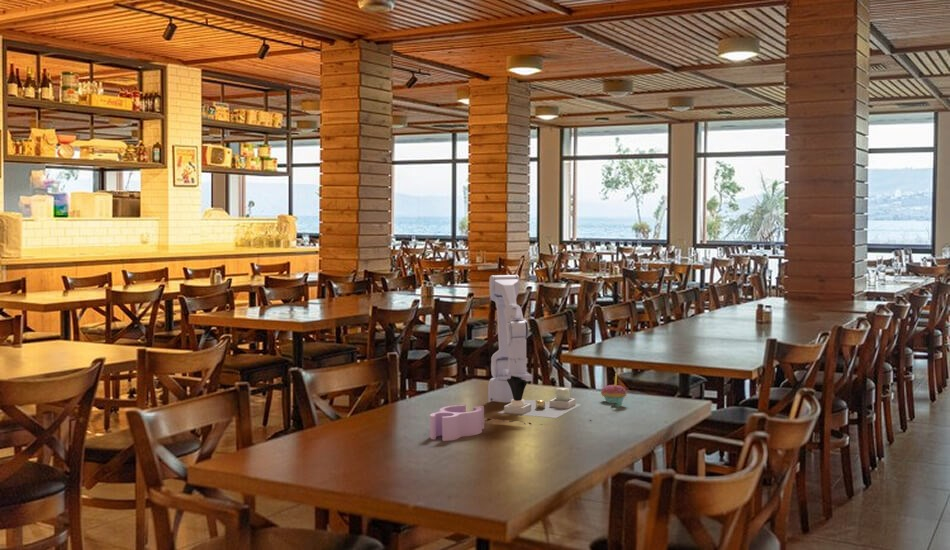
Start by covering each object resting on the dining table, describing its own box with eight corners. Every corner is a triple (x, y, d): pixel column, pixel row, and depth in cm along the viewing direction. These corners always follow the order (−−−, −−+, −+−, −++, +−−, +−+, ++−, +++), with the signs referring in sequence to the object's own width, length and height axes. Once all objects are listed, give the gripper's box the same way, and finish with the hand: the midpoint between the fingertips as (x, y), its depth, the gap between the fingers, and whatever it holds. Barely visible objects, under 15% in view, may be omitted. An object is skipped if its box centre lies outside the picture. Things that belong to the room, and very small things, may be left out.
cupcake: (631, 407, 330) (631, 371, 330) (608, 409, 327) (608, 373, 326) (618, 402, 338) (618, 367, 338) (596, 404, 335) (596, 369, 334)
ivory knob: (508, 411, 316) (508, 400, 316) (514, 409, 320) (514, 398, 320) (521, 413, 314) (521, 401, 314) (526, 410, 318) (526, 399, 318)
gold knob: (534, 408, 321) (534, 401, 321) (537, 407, 324) (537, 399, 323) (543, 409, 320) (543, 402, 319) (546, 408, 322) (546, 400, 322)
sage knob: (553, 400, 324) (553, 389, 324) (558, 398, 328) (558, 387, 328) (566, 401, 323) (566, 390, 322) (571, 399, 327) (571, 388, 326)
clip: (456, 443, 281) (456, 418, 281) (419, 438, 288) (419, 414, 287) (491, 429, 298) (491, 406, 298) (456, 425, 305) (455, 403, 304)
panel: (497, 417, 315) (497, 406, 315) (526, 404, 337) (526, 394, 337) (556, 422, 306) (556, 411, 306) (582, 408, 328) (582, 398, 328)
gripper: (495, 356, 321) (495, 398, 321) (518, 362, 308) (519, 405, 309) (513, 355, 324) (514, 396, 325) (537, 360, 312) (538, 403, 312)
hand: (517, 400), depth 317 cm, fingers closed, pressing on ivory knob
